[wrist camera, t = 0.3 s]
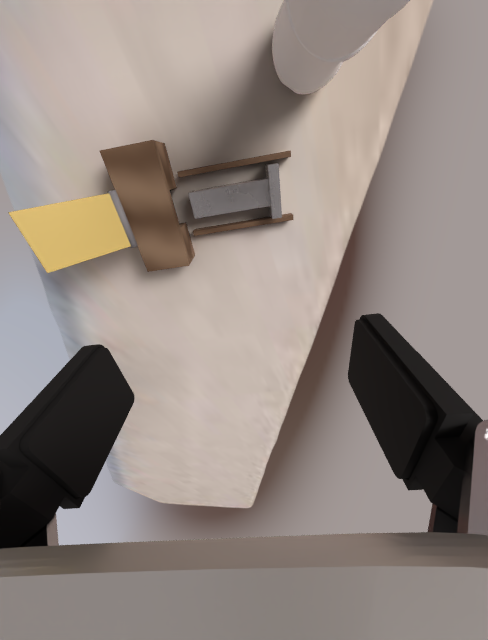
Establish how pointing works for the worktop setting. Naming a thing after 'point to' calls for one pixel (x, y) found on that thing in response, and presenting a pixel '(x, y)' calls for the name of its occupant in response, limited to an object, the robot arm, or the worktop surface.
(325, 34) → the water bottle
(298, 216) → the worktop surface
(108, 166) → the block
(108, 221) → the yellow grey-edged tile
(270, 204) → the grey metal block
